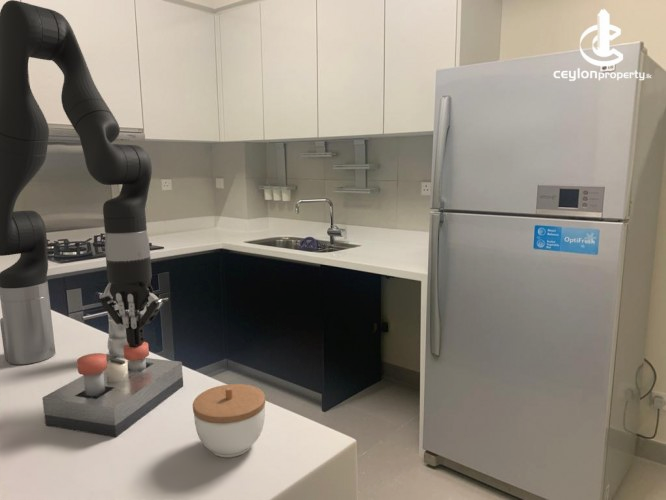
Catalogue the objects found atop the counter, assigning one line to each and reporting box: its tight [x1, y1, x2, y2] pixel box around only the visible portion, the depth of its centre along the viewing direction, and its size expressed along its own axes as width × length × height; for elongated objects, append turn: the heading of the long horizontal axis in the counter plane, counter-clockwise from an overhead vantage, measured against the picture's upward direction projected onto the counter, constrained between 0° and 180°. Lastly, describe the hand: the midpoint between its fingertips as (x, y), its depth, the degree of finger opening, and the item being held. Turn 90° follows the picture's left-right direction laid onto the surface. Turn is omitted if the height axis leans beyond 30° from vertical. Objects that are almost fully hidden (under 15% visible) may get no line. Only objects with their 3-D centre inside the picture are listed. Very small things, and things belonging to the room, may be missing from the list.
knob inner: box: [123, 341, 150, 372], centre depth 93 cm, size 4×4×6 cm
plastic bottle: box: [103, 282, 128, 358], centre depth 110 cm, size 6×7×20 cm
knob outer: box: [76, 352, 108, 396], centre depth 82 cm, size 4×4×6 cm
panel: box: [42, 355, 184, 438], centre depth 88 cm, size 14×19×5 cm
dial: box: [106, 357, 128, 383], centre depth 87 cm, size 4×4×4 cm
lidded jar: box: [192, 383, 266, 458], centre depth 74 cm, size 11×11×9 cm
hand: (136, 345), depth 92 cm, fingers closed
